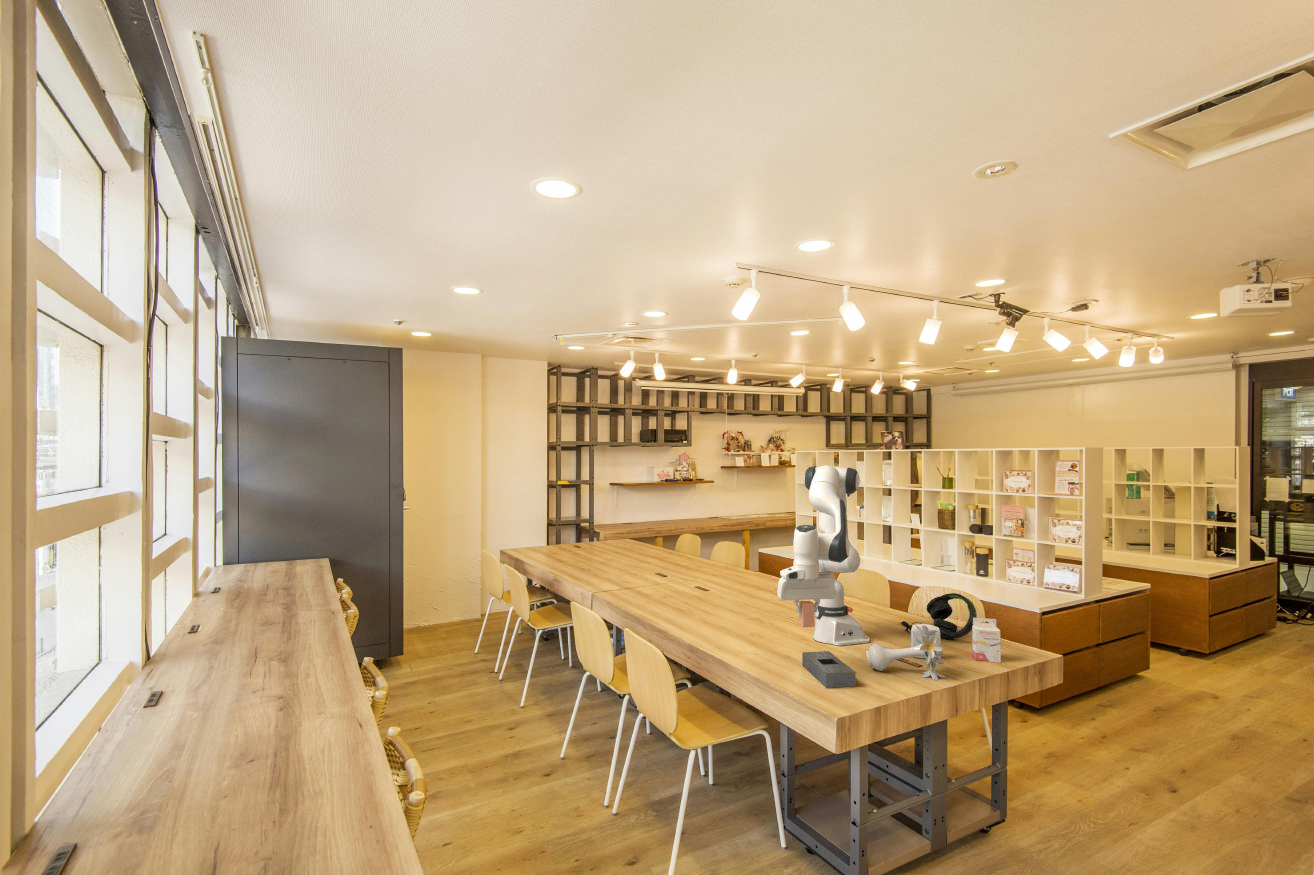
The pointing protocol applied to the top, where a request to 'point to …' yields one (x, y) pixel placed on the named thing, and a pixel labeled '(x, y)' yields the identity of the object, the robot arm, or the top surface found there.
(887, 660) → the flower vase
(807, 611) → the terracotta peg
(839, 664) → the rail
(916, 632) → the photo printer
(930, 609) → the headset
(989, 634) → the ink cartridge box
